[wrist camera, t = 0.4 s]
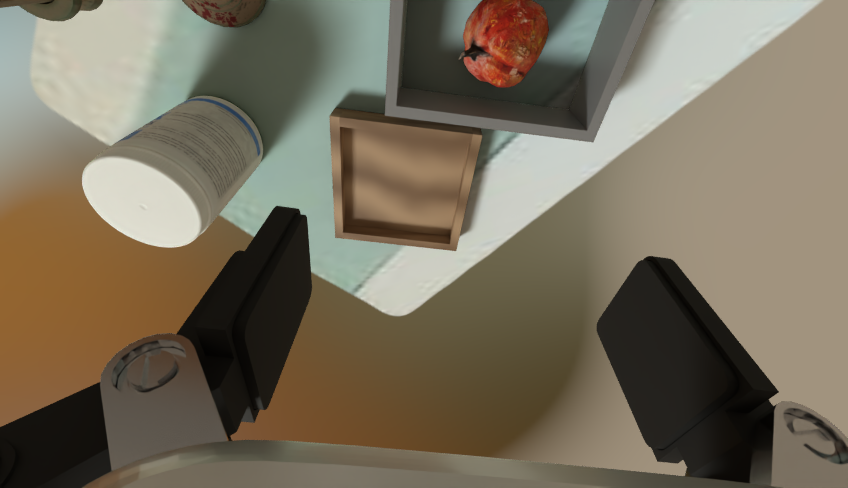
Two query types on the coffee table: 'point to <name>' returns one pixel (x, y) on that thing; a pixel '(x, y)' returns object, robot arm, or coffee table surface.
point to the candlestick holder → (217, 3)
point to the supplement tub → (175, 172)
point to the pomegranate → (504, 40)
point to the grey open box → (577, 123)
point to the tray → (401, 178)
